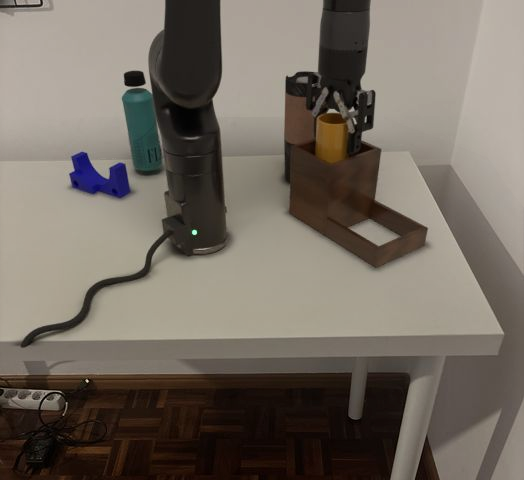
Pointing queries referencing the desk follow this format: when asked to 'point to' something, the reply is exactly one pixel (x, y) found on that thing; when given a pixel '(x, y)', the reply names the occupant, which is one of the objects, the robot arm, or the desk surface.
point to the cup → (331, 137)
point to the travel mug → (296, 116)
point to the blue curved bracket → (98, 177)
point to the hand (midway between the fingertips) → (335, 145)
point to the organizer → (348, 202)
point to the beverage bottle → (141, 123)
